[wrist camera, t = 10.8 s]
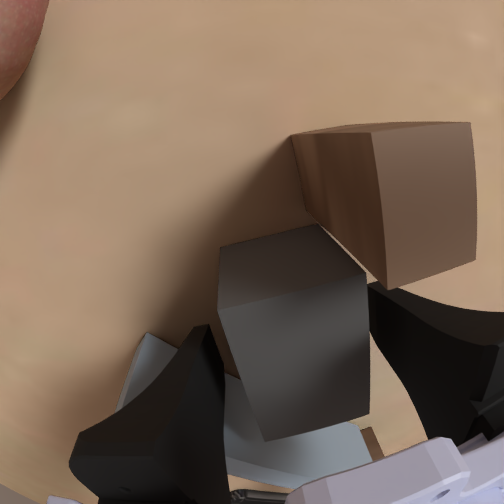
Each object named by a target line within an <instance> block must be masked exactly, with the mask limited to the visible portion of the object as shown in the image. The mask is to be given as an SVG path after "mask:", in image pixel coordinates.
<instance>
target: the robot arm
mask: <svg viewBox="0 0 504 504" xmlns="http://www.w3.org/2000/svg"><path fill="white" fill-rule="evenodd" d="M367 293H368V310H369V331H370V333H371V335H372V337H373V339H374V341H375V343H376V345H377V346H378V348H379V349H380V351H381V352H382V354H383V355H384V357H385V358H386V360H387V361H388V363H389V364H390V366H391V367H392V369H393V370H394V371H395V373H396V374H397V376H398V377H399V379H400V380H401V382H402V383H403V385H404V387H405V388H406V390H407V392H408V394H409V396H410V398H411V400H412V402H413V404H414V406H415V409H416V411H417V413H418V415H419V418H420V420H421V422H422V425H423V427H424V430H425V432H426V435H427V437H428V440H426V441H423V442H420V443H418V444H416V445H413V446H411V447H409V448H406V449H404V450H401V451H399V452H396V453H394V454H391V455H389V456H386V457H383V458H381V459H378V460H375V461H372V462H369V463H367V464H364V465H361V466H357V467H354V468H351V469H348V470H345V471H341V472H338V473H334V474H331V475H327V476H324V477H321V478H318V479H316V480H313V481H310V482H307V483H304V484H303V485H301V486H300V487H298V488H297V489H295V490H294V491H292V492H291V493H290V494H289V495H288V496H287V498H286V501H285V504H504V312H487V311H477V310H470V309H464V308H458V307H454V306H450V305H446V304H442V303H438V302H435V301H432V300H429V299H426V298H423V297H420V296H418V295H415V294H413V293H410V292H407V291H405V290H403V289H400V288H398V287H397V288H394V289H391V290H387V289H386V288H385V287H384V286H383V285H382V284H381V283H380V282H379V281H376V282H372V283H369V284H367ZM225 386H226V384H225V373H224V363H223V361H222V358H221V356H220V353H219V350H218V347H217V345H216V342H215V339H214V337H213V334H212V331H211V328H210V326H209V324H206V325H202V326H197V327H194V328H193V329H192V331H191V332H190V333H189V335H188V336H187V338H186V339H185V341H184V342H183V344H182V345H181V347H180V348H179V349H178V351H177V352H176V354H175V355H174V357H173V358H172V359H171V360H170V362H169V363H168V364H167V365H166V367H165V368H164V369H163V370H162V372H161V373H160V374H159V375H158V376H157V377H156V379H155V380H154V381H153V382H152V383H151V384H150V385H149V386H148V387H147V388H146V389H145V390H144V391H143V392H141V393H140V394H139V395H138V396H137V397H135V398H134V399H133V400H132V401H131V402H129V403H128V404H127V405H126V406H124V407H123V408H122V409H120V410H119V411H117V412H116V413H114V414H113V415H111V416H110V417H108V418H107V419H105V420H103V421H102V422H100V423H98V424H96V425H94V426H92V427H90V428H88V429H86V430H84V431H82V432H80V433H79V435H78V438H77V440H76V443H75V446H74V449H73V451H72V454H71V457H70V460H69V468H70V470H71V471H72V473H73V475H74V476H75V477H76V478H77V479H78V480H79V481H80V482H81V483H82V484H84V485H85V486H86V487H87V488H88V489H89V490H90V491H92V492H93V493H94V494H95V495H96V496H98V497H99V501H98V504H232V503H231V497H230V490H229V483H228V476H227V467H226V458H225V447H224V411H225ZM46 504H82V503H80V502H78V501H76V500H73V499H68V498H63V497H58V496H53V495H49V497H48V500H47V503H46Z"/></svg>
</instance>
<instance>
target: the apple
mask: <svg viewBox="0 0 504 504" xmlns="http://www.w3.org/2000/svg"><path fill="white" fill-rule="evenodd" d="M48 4H49V0H0V100H1V99H2V98H3V97H4V96H5V95H6V94H7V93H8V92H9V91H10V89H11V88H12V87H13V86H14V85H15V83H16V82H17V81H18V79H19V78H20V76H21V75H22V74H23V72H24V71H25V69H26V68H27V66H28V64H29V62H30V60H31V57H32V55H33V52H34V49H35V46H36V44H37V41H38V39H39V36H40V34H41V30H42V27H43V23H44V18H45V14H46V11H47V8H48Z"/></svg>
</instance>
